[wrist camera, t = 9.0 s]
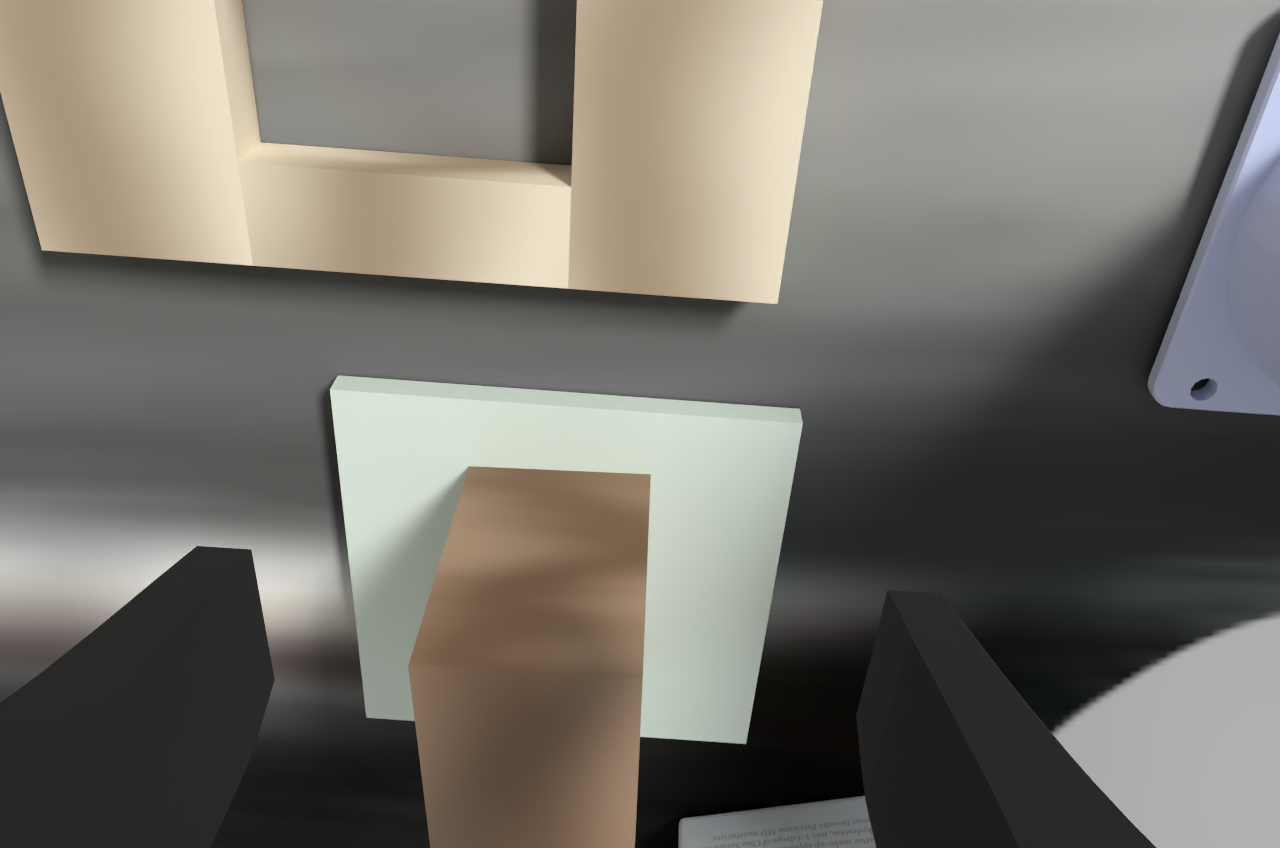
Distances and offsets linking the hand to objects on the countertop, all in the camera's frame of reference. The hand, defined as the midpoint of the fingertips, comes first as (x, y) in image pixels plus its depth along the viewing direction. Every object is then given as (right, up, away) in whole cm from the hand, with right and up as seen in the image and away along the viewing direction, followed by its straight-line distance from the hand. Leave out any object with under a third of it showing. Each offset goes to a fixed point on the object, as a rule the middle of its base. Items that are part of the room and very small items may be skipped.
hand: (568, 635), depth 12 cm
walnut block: (-1, -1, +12) cm, 12 cm away
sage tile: (-1, -1, +13) cm, 13 cm away
